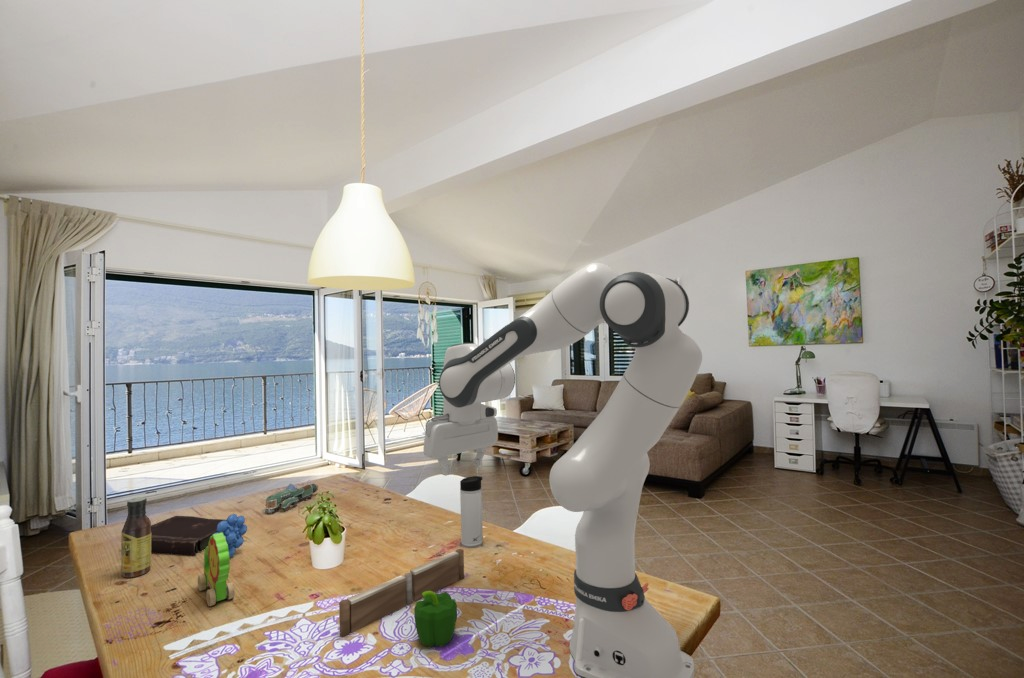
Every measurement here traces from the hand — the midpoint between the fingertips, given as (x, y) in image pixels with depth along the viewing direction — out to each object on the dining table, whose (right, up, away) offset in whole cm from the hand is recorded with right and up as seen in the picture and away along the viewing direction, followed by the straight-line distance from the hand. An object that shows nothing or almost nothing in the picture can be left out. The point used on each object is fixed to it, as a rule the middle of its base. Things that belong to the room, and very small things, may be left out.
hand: (462, 470), depth 110 cm
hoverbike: (-73, -33, +70) cm, 106 cm away
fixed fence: (-17, -29, -10) cm, 35 cm away
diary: (-91, -33, +36) cm, 103 cm away
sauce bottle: (-89, -32, +15) cm, 95 cm away
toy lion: (-59, -31, +2) cm, 67 cm away
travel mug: (0, -30, +27) cm, 40 cm away
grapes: (-70, -32, +23) cm, 80 cm away
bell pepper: (-3, -29, -17) cm, 34 cm away
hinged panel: (-6, -29, +2) cm, 29 cm away
